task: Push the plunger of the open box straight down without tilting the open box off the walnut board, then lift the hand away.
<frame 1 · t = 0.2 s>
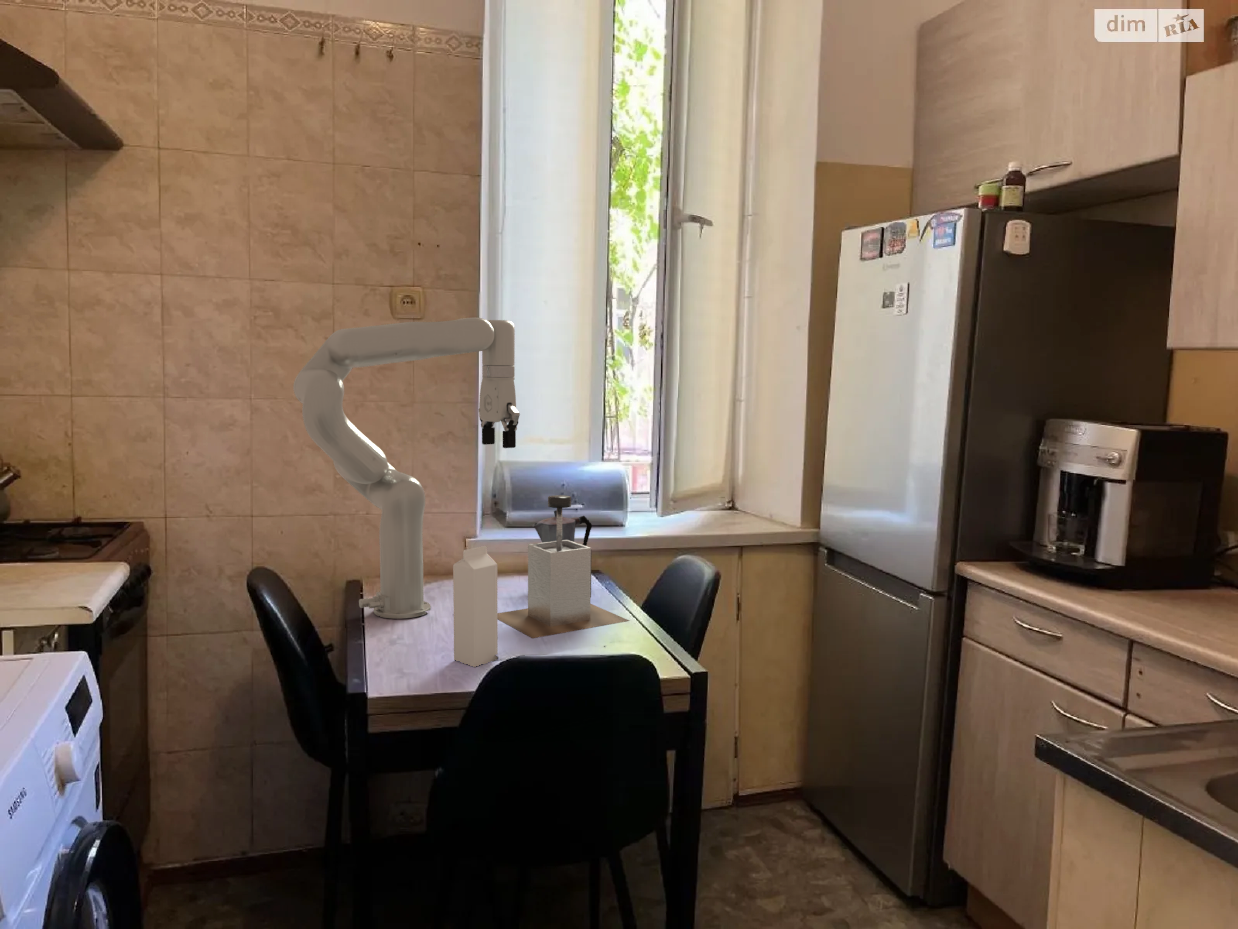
hand: (498, 445, 217), 37 cm above the table, tool pointing down, fingers open, 9 cm apart
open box: (558, 617, 201), point 1 cm above the table, touching walnut board
milk: (475, 661, 176), on the table
plunger: (559, 526, 199), point 22 cm above the table, slide at 0.0 cm
moka pot: (561, 588, 232), on the table
walnut board: (558, 622, 201), on the table
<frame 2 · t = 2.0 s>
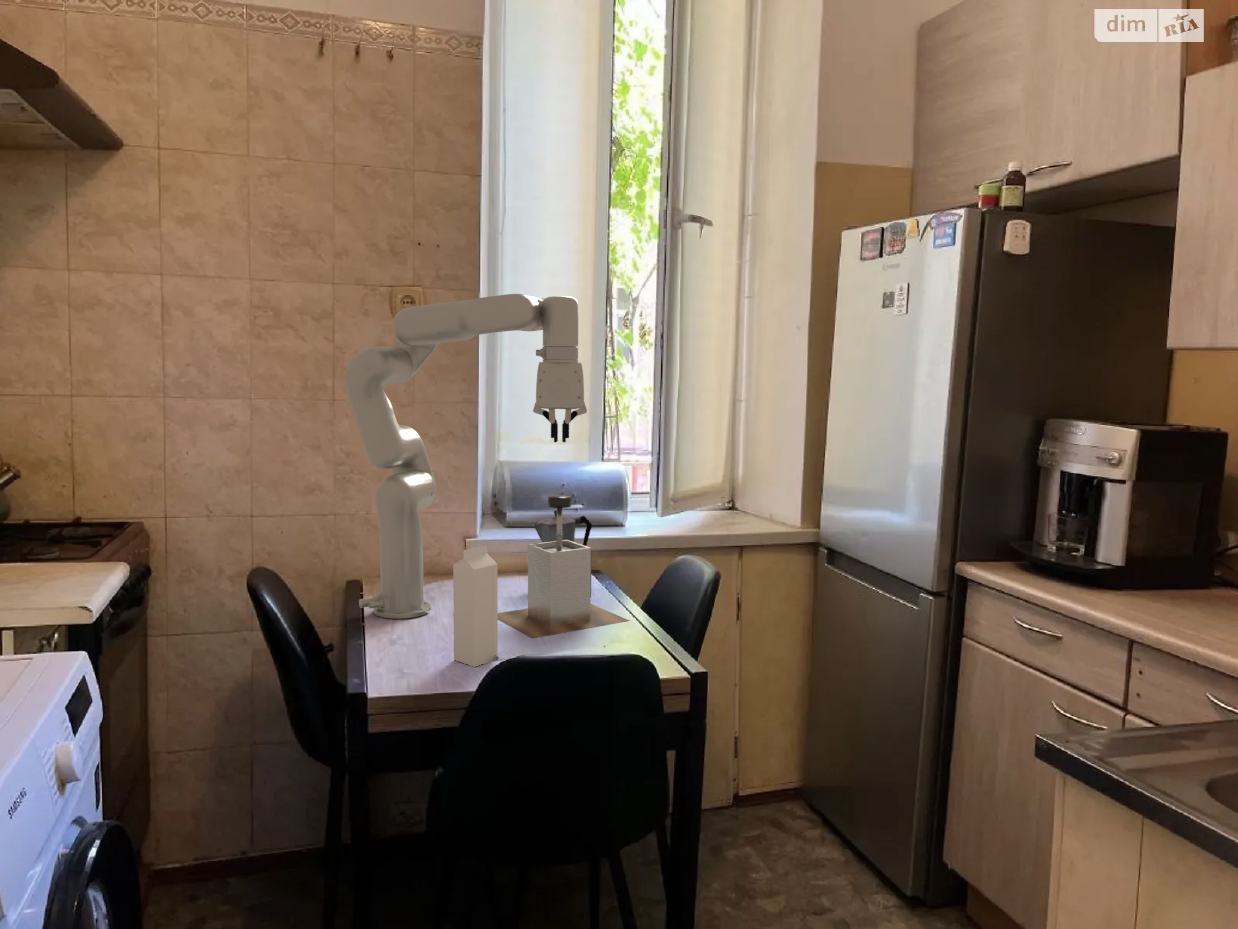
hand: (559, 441, 197), 40 cm above the table, tool pointing down, fingers closed
nothing on the table moved.
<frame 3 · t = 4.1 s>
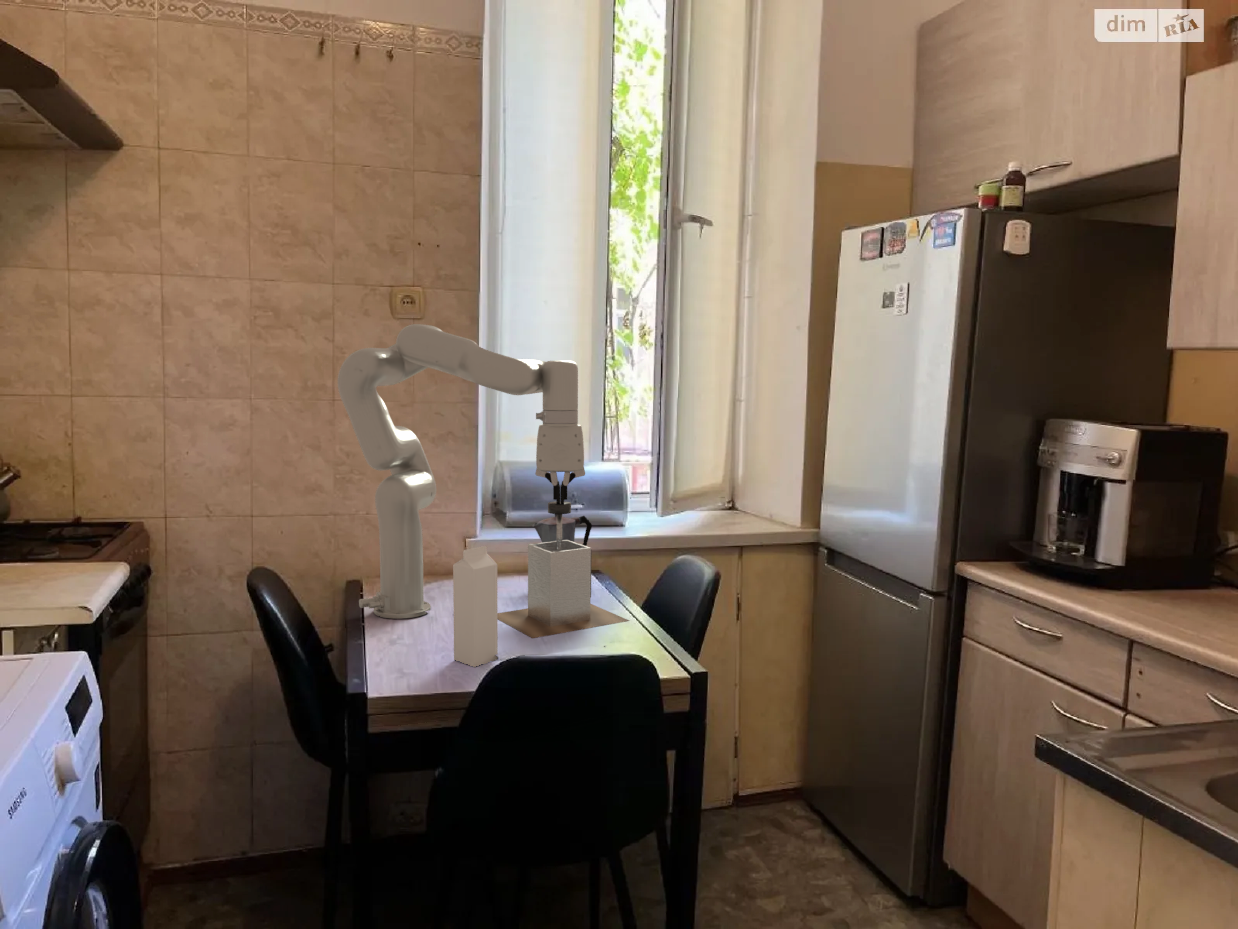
hand: (560, 503, 198), 27 cm above the table, tool pointing down, fingers closed
plunger: (559, 532, 199), point 20 cm above the table, slide at 1.4 cm, touching gripper
everything else where it was.
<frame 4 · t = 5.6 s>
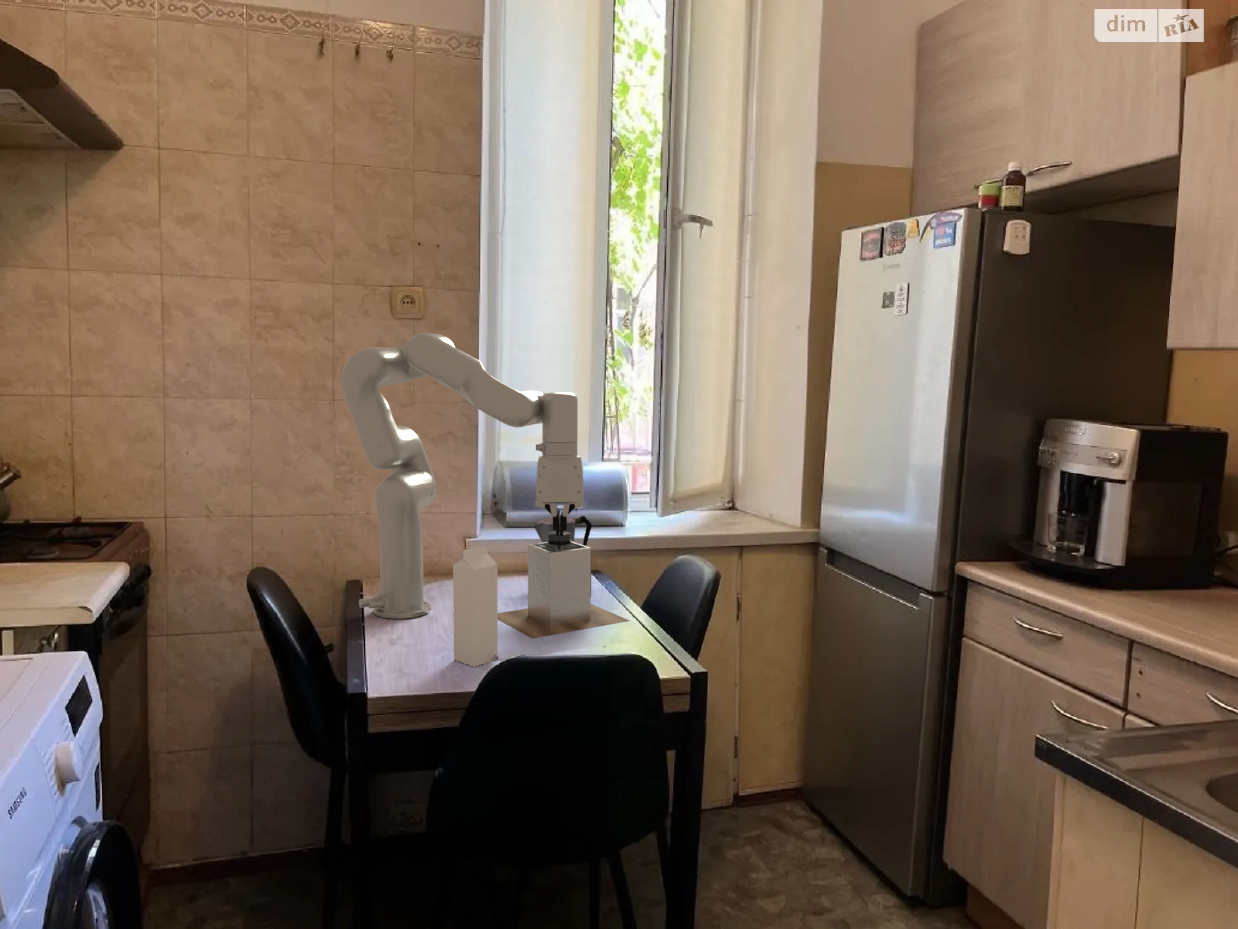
hand: (559, 533, 199), 20 cm above the table, tool pointing down, fingers closed
plunger: (559, 562, 200), point 14 cm above the table, slide at 8.1 cm, touching gripper
everything else where it was.
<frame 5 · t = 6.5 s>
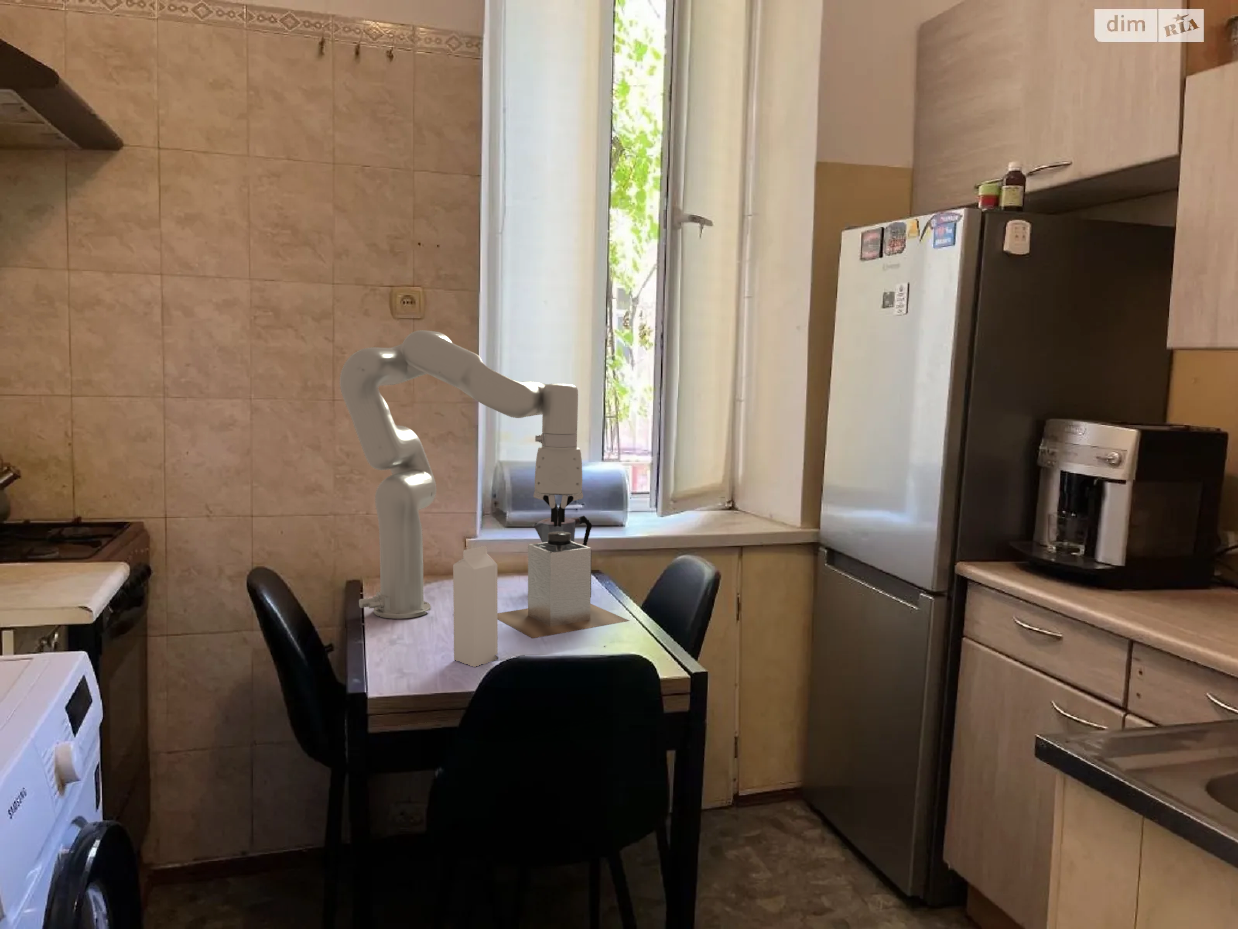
hand: (557, 525, 199), 22 cm above the table, tool pointing down, fingers closed
plunger: (559, 562, 200), point 14 cm above the table, slide at 8.1 cm
everything else where it was.
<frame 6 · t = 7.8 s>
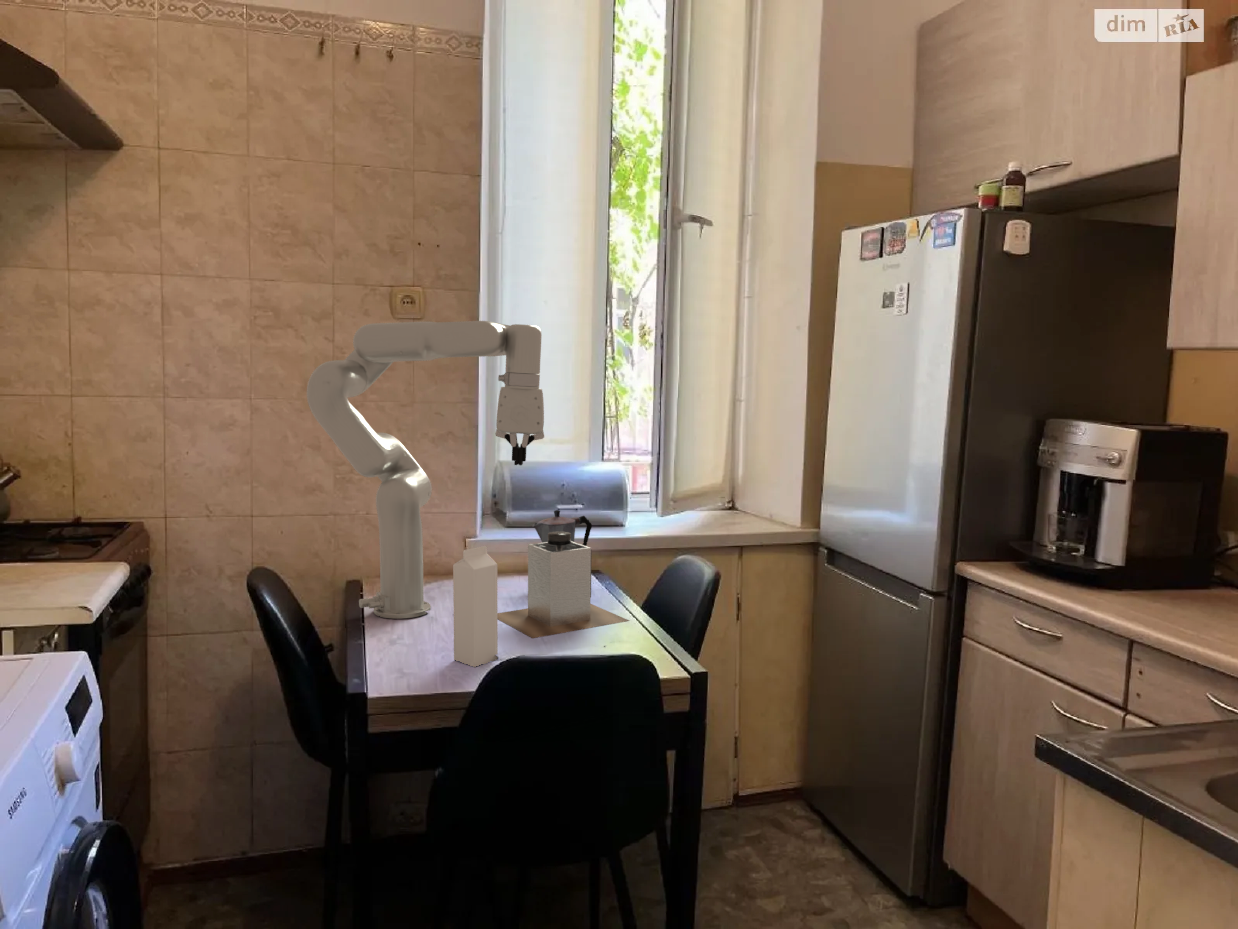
hand: (518, 464, 203), 34 cm above the table, tool pointing down, fingers closed
nothing on the table moved.
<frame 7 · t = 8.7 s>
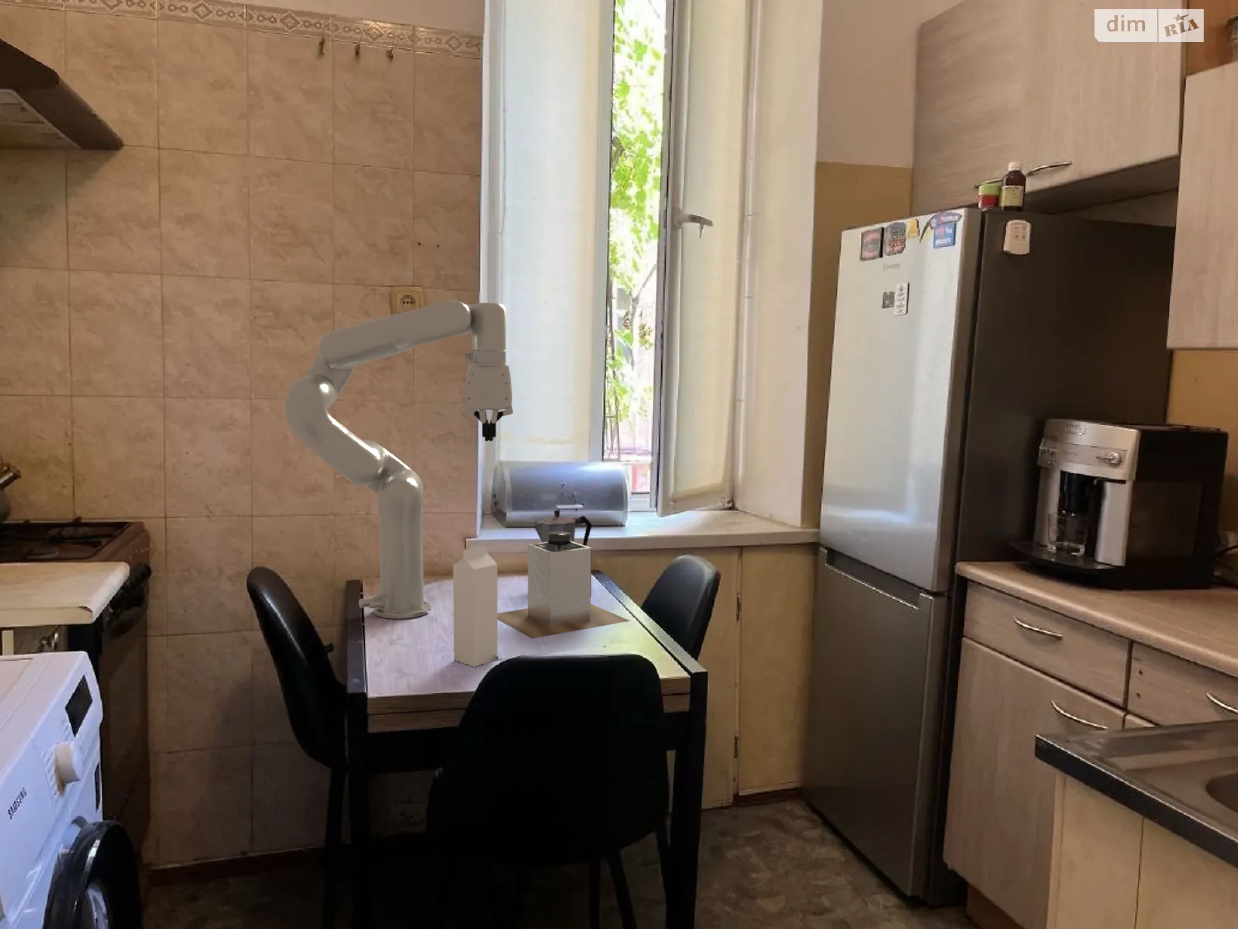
hand: (489, 440, 207), 39 cm above the table, tool pointing down, fingers closed
nothing on the table moved.
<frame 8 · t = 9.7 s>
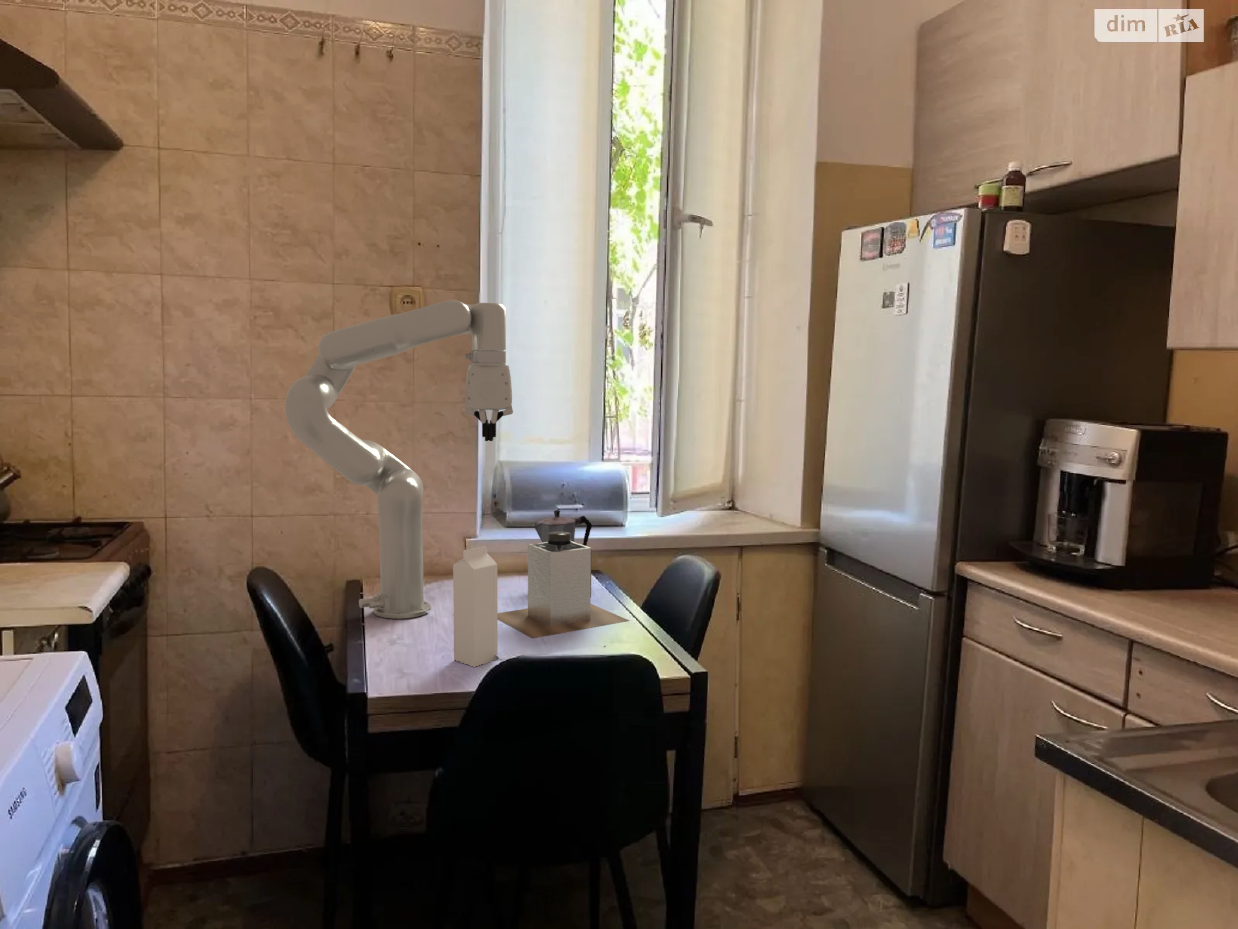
hand: (489, 440, 207), 39 cm above the table, tool pointing down, fingers closed
nothing on the table moved.
at the end: plunger slide at 8.1 cm; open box tilted 0°; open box moved 0.0 cm from its start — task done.
